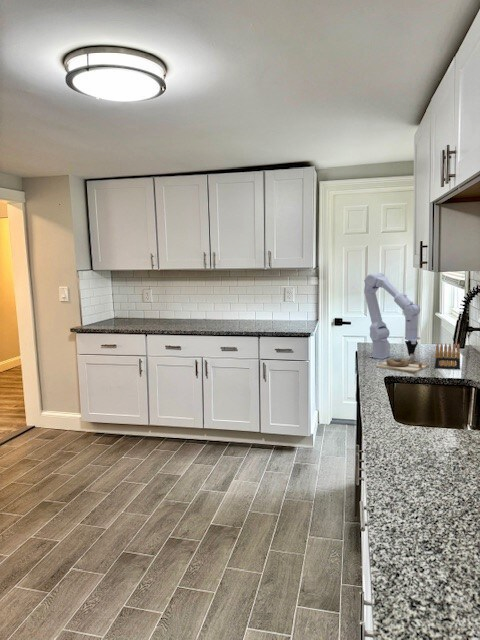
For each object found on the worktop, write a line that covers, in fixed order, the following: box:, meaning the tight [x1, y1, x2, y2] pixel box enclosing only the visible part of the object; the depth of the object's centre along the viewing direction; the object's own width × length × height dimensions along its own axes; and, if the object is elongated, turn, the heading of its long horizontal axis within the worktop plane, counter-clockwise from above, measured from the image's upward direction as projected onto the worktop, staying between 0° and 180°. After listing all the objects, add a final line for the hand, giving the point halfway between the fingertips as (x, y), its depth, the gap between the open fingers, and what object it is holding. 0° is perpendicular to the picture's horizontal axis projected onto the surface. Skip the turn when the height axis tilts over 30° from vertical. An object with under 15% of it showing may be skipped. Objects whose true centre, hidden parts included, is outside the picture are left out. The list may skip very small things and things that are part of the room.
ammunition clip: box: [434, 342, 461, 370], centre depth 206 cm, size 11×2×12 cm, turn 71°
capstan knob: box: [386, 353, 416, 367], centre depth 214 cm, size 14×10×4 cm
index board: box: [375, 360, 430, 374], centre depth 213 cm, size 16×19×3 cm
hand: (411, 355), depth 221 cm, fingers closed
